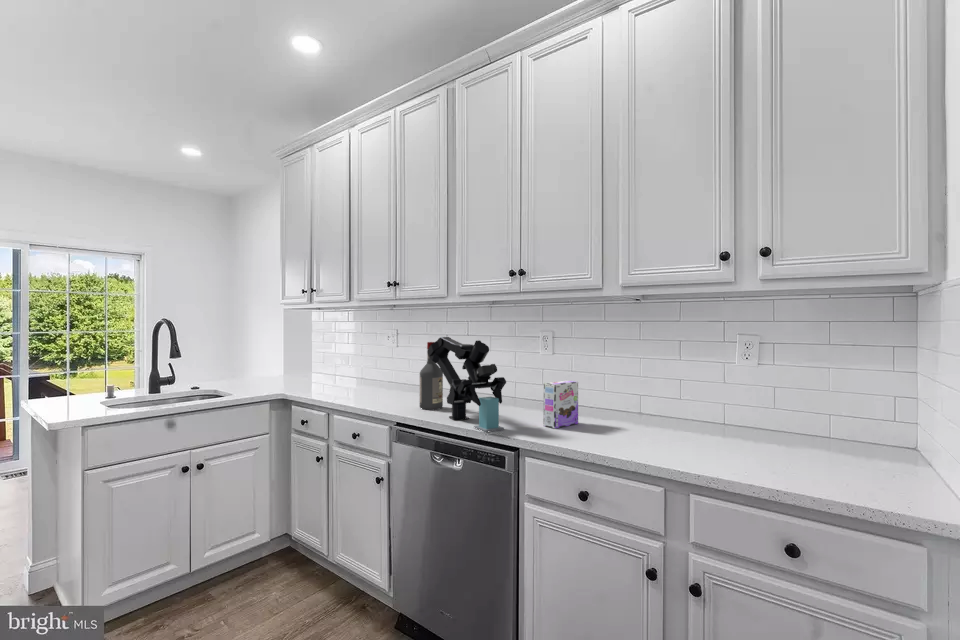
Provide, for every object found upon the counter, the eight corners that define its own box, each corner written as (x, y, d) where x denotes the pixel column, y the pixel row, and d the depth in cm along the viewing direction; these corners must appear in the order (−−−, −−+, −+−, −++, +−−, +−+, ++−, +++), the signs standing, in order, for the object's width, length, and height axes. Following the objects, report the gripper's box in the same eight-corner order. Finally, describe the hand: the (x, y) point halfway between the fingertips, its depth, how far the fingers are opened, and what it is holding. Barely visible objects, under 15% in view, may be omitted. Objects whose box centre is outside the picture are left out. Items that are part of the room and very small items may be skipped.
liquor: (417, 409, 211) (417, 342, 211) (426, 405, 219) (426, 341, 220) (436, 410, 208) (436, 342, 208) (444, 406, 217) (444, 341, 217)
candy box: (554, 429, 172) (554, 384, 172) (542, 426, 176) (542, 382, 176) (578, 424, 180) (578, 381, 180) (567, 421, 185) (566, 379, 185)
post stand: (473, 428, 173) (473, 415, 173) (491, 425, 177) (491, 413, 177) (485, 432, 166) (485, 419, 166) (504, 429, 170) (504, 416, 170)
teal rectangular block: (478, 426, 172) (479, 397, 172) (490, 424, 175) (490, 396, 175) (486, 429, 168) (486, 399, 168) (498, 427, 171) (498, 398, 171)
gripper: (461, 357, 170) (477, 392, 161) (503, 356, 180) (520, 388, 170) (450, 377, 177) (465, 411, 167) (492, 374, 186) (508, 406, 177)
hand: (490, 404), depth 170 cm, fingers open, 9 cm apart
